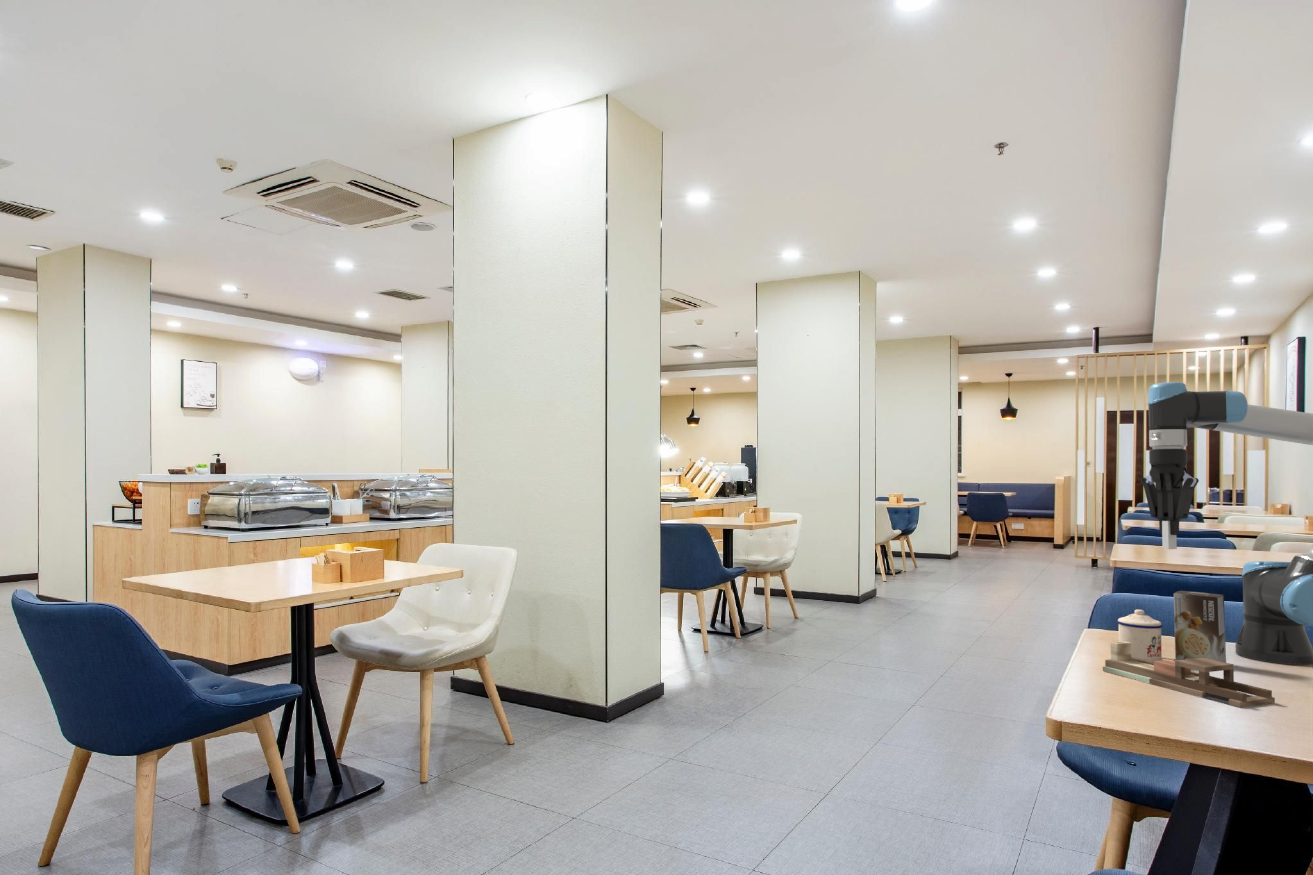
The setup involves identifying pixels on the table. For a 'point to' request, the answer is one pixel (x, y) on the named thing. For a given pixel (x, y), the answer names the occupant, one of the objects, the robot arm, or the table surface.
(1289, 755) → the table surface
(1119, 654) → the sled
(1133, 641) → the teacup with lid
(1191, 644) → the coffee box
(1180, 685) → the tunnel board
